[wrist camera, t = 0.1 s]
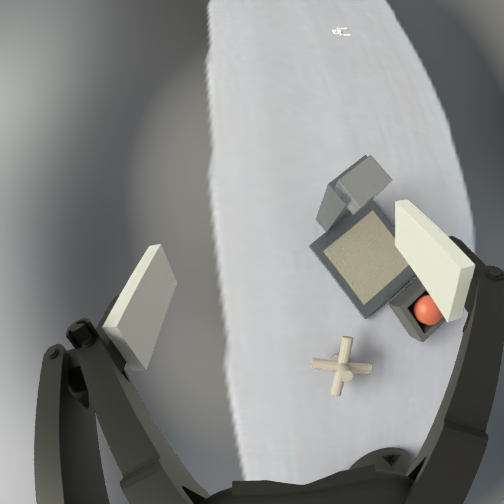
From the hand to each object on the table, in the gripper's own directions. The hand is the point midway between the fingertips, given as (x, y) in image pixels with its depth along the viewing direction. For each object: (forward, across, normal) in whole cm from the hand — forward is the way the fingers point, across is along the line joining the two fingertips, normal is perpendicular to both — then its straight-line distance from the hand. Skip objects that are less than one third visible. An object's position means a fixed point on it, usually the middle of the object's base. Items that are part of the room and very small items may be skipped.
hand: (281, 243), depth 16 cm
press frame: (+29, -13, +20) cm, 38 cm away
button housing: (+22, -22, +30) cm, 43 cm away
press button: (+19, -22, +27) cm, 40 cm away
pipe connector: (+19, -6, +35) cm, 40 cm away
